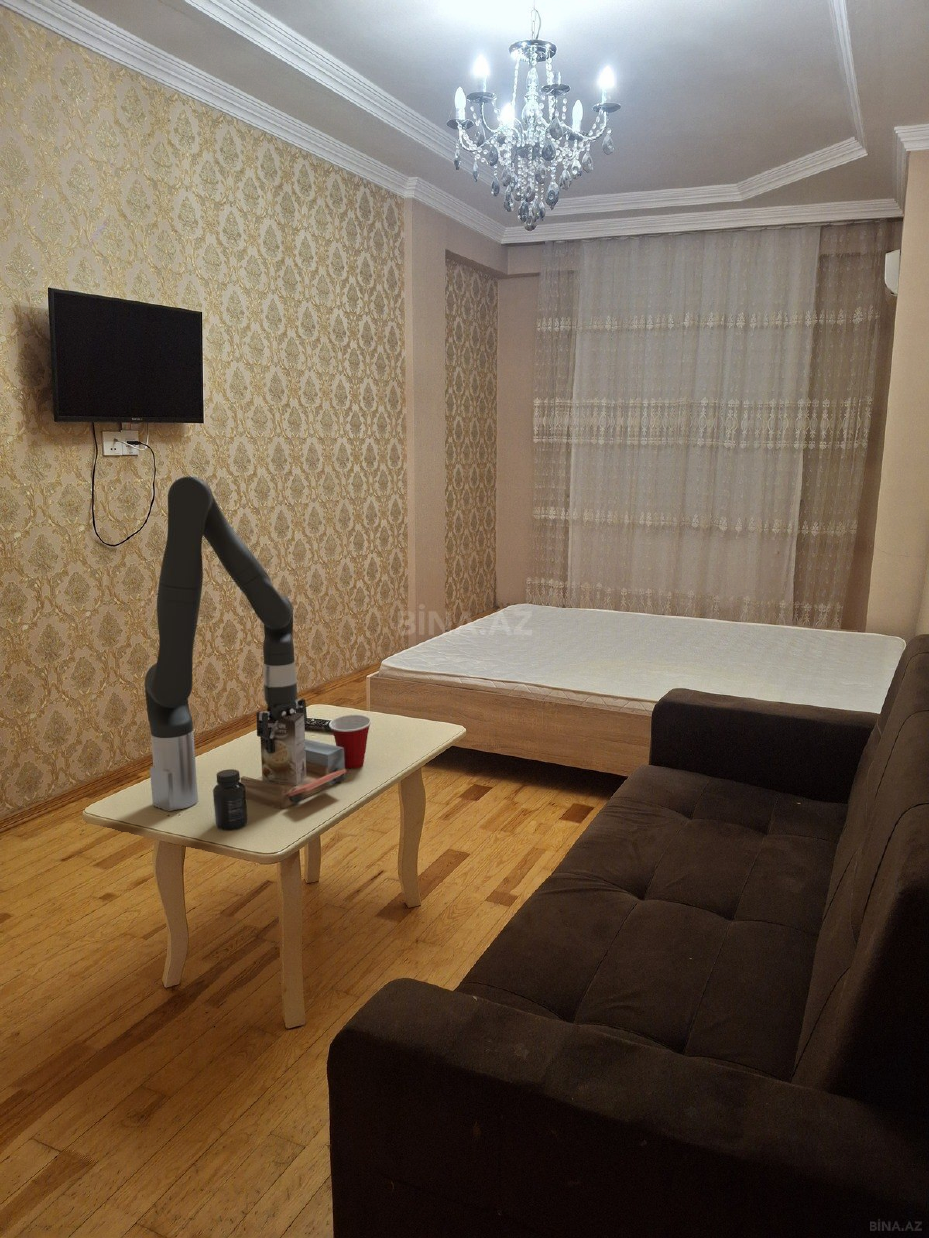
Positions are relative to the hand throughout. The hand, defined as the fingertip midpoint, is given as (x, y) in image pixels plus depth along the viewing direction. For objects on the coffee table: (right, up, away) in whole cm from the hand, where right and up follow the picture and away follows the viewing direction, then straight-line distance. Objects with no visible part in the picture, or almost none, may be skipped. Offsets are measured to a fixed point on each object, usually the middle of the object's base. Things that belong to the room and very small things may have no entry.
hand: (283, 747), depth 212 cm
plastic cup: (+14, -8, +19) cm, 25 cm away
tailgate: (+7, -9, -3) cm, 11 cm away
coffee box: (0, -8, +2) cm, 8 cm away
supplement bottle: (-8, -15, -16) cm, 23 cm away
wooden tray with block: (+2, -10, +4) cm, 12 cm away
